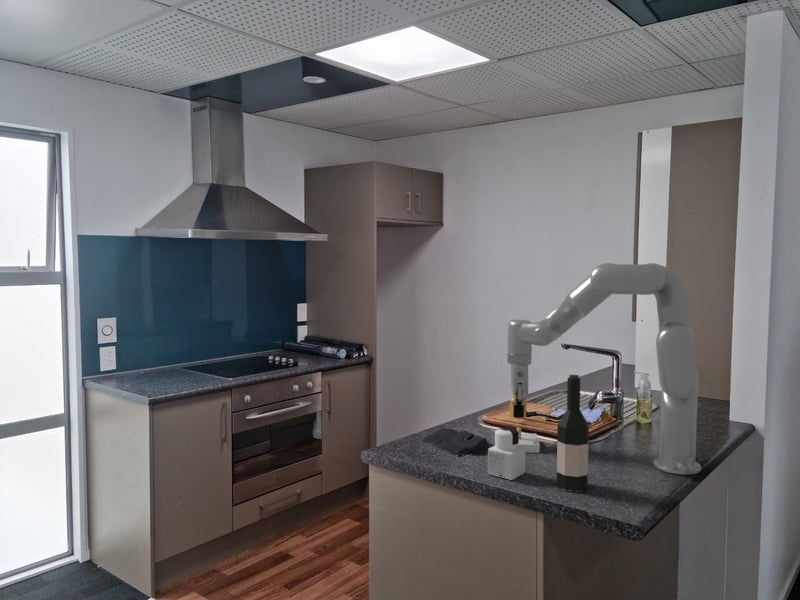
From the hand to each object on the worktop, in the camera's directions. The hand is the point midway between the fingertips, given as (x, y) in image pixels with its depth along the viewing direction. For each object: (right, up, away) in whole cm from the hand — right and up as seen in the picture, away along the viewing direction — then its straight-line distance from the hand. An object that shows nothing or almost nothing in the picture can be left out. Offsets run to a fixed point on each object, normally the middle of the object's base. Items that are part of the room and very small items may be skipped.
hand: (518, 414), depth 200 cm
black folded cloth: (-19, -11, +3) cm, 22 cm away
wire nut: (0, -1, 0) cm, 1 cm away
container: (-8, -13, -24) cm, 29 cm away
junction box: (+1, -10, +4) cm, 11 cm away
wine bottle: (+8, -13, -33) cm, 37 cm away
